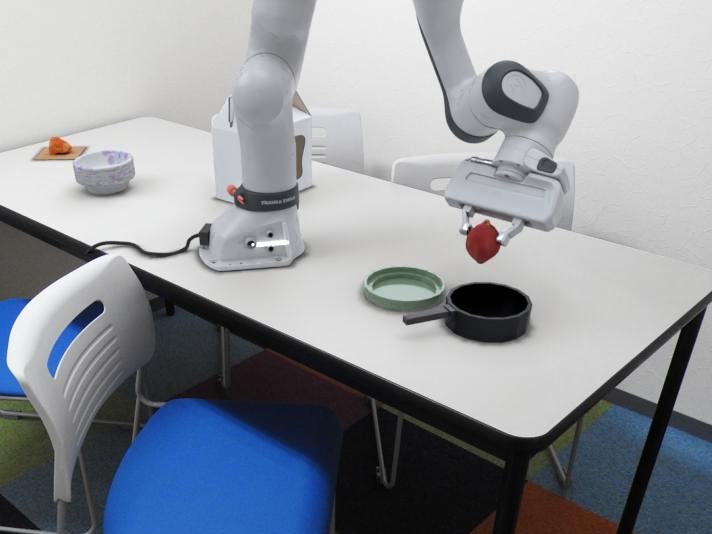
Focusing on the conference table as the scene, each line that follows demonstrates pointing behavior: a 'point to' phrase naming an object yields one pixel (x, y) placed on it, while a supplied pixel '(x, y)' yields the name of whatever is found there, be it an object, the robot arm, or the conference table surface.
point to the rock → (60, 150)
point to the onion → (482, 242)
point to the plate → (404, 287)
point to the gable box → (230, 150)
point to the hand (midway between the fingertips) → (482, 239)
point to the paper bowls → (104, 171)
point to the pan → (481, 312)
